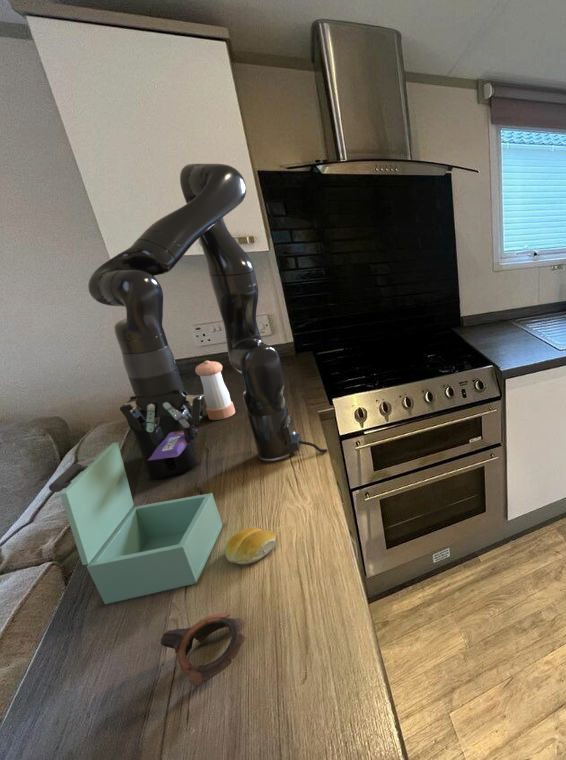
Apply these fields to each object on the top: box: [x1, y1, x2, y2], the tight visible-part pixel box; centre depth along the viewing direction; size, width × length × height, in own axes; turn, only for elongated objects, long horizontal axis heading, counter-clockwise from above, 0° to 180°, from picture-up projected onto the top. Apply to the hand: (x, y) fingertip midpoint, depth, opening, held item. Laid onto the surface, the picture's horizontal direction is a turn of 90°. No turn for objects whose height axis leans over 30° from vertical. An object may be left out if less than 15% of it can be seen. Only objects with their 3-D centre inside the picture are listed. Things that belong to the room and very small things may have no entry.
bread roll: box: [224, 526, 277, 565], centre depth 90 cm, size 8×9×4 cm
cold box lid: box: [48, 441, 135, 566], centre depth 79 cm, size 15×16×5 cm
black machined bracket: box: [125, 379, 197, 480], centre depth 117 cm, size 12×21×22 cm, turn 39°
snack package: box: [148, 428, 199, 460], centre depth 92 cm, size 12×2×5 cm
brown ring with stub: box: [160, 612, 248, 686], centre depth 69 cm, size 12×10×8 cm
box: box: [86, 492, 224, 605], centre depth 86 cm, size 14×16×9 cm
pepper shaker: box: [194, 360, 236, 421], centre depth 141 cm, size 7×7×19 cm
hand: (176, 442), depth 93 cm, fingers closed on snack package, 4 cm apart
